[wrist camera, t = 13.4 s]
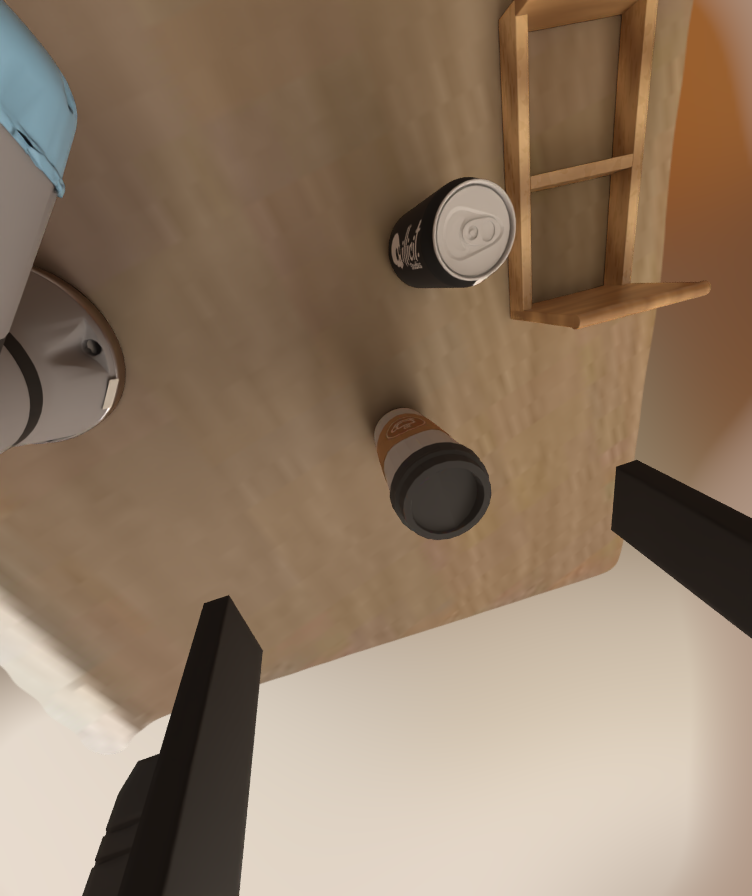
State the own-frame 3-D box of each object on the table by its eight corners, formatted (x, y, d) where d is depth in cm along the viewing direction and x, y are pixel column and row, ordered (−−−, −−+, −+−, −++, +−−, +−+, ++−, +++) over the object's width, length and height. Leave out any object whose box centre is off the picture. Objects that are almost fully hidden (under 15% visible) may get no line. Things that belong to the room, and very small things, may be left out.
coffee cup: (422, 386, 39) (485, 436, 26) (442, 448, 43) (506, 520, 30) (353, 415, 39) (381, 481, 26) (379, 475, 43) (415, 559, 30)
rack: (498, 18, 28) (598, -120, 19) (633, -6, 29) (794, -149, 20) (510, 320, 38) (579, 330, 29) (610, 294, 39) (709, 295, 30)
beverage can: (382, 213, 32) (424, 175, 21) (451, 205, 33) (525, 165, 22) (390, 292, 35) (430, 293, 24) (453, 283, 36) (519, 280, 25)
